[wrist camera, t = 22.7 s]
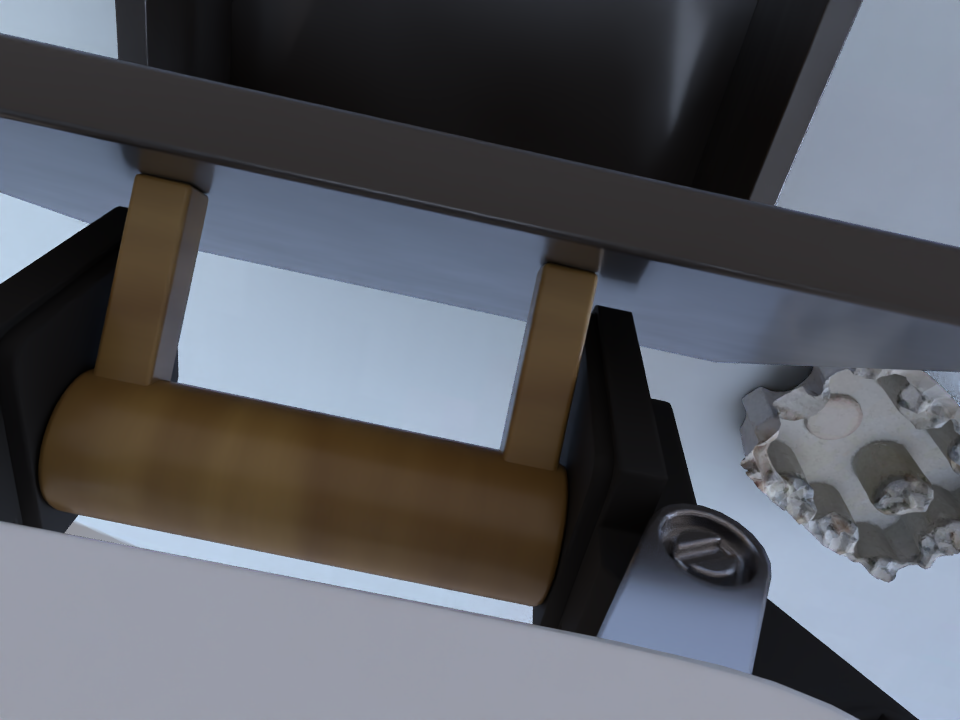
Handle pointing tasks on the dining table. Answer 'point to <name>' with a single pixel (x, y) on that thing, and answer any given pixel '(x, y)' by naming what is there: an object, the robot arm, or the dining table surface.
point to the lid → (416, 273)
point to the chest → (534, 72)
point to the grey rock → (862, 463)
